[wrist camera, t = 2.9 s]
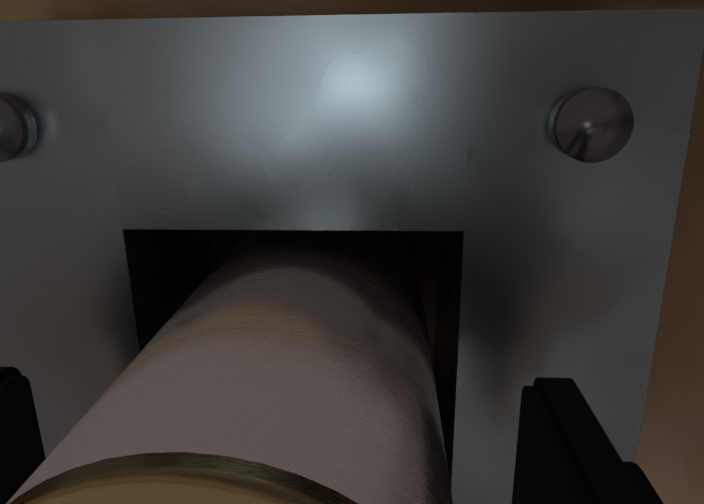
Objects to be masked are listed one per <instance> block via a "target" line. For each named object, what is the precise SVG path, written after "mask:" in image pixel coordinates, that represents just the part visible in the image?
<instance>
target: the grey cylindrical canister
mask: <svg viewBox="0 0 704 504" xmlns="http://www.w3.org/2000/svg"><path fill="white" fill-rule="evenodd" d="M6 504H453V501H452V494H451V487H450V481H449V474H448V467H447V460H446V453H445V446H444V439H443V432H442V426H441V419H440V412H439V405H438V398H437V391H436V384H435V378H434V371H433V364H432V357H431V350H430V343H429V336H428V329H427V323H426V316H425V309H424V302H423V295H422V288H421V281H420V276H419V271H418V267H417V264H416V261H415V258H414V256H413V254H412V252H411V250H410V248H409V246H408V245H407V243H406V242H405V240H404V239H403V237H402V236H401V235H400V234H399V233H398V231H341V230H248V231H247V232H246V233H245V234H244V235H243V237H242V238H241V239H240V240H239V241H238V242H237V243H236V244H235V246H234V247H233V248H232V249H231V250H230V251H229V252H228V253H227V255H226V256H225V257H224V258H223V259H222V260H221V261H220V263H219V264H218V265H217V266H216V267H215V268H214V269H213V270H212V272H211V273H210V274H209V275H208V276H207V277H206V278H205V279H204V281H203V282H202V283H201V284H200V285H199V286H198V287H197V288H196V290H195V291H194V292H193V293H192V294H191V295H190V296H189V298H188V299H187V300H186V301H185V302H184V303H183V304H182V305H181V307H180V308H179V309H178V310H177V311H176V312H175V313H174V314H173V316H172V317H171V318H170V319H169V320H168V321H167V322H166V324H165V325H164V326H163V327H162V328H161V329H160V330H159V331H158V333H157V334H156V335H155V336H154V337H153V338H152V339H151V340H150V342H149V343H148V344H147V345H146V346H145V347H144V348H143V349H142V351H141V352H140V353H139V354H138V355H137V356H136V357H135V359H134V360H133V361H132V362H131V363H130V364H129V365H128V366H127V368H126V369H125V370H124V371H123V372H122V373H121V374H120V375H119V377H118V378H117V379H116V380H115V381H114V382H113V383H112V384H111V386H110V387H109V388H108V389H107V390H106V391H105V392H104V394H103V395H102V396H101V397H100V398H99V399H98V400H97V401H96V403H95V404H94V405H93V406H92V407H91V408H90V409H89V410H88V412H87V413H86V414H85V415H84V416H83V417H82V418H81V420H80V421H79V422H78V423H77V424H76V425H75V426H74V427H73V429H72V430H71V431H70V432H69V433H68V434H67V435H66V436H65V438H64V439H63V440H62V441H61V442H60V443H59V444H58V445H57V447H56V448H55V449H54V450H53V451H52V452H51V453H50V455H49V456H48V457H47V458H46V459H45V460H44V461H43V462H42V464H41V465H40V466H39V467H38V468H37V469H36V470H35V471H34V473H33V474H32V475H31V476H30V477H29V478H28V479H27V480H26V482H25V483H24V484H23V485H22V486H21V487H20V488H19V490H18V491H17V492H16V493H15V494H14V495H13V496H12V497H11V499H10V500H9V501H8V502H7V503H6Z"/></svg>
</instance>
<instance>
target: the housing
mask: <svg viewBox="0 0 704 504" xmlns="http://www.w3.org/2000/svg"><path fill="white" fill-rule="evenodd" d="M703 51H704V8H686V9H632V10H578V11H523V12H469V13H414V14H360V15H306V16H251V17H197V18H142V19H88V20H34V21H0V367H15V368H17V369H18V370H19V371H20V372H21V374H22V375H24V376H26V377H27V378H28V379H29V382H30V385H31V390H32V394H33V399H34V404H35V409H36V414H37V419H38V424H39V428H40V433H41V438H42V443H43V448H44V453H45V458H47V457H48V456H49V455H50V453H51V452H52V451H53V450H54V449H55V448H56V447H57V445H58V444H59V443H60V442H61V441H62V440H63V439H64V438H65V436H66V435H67V434H68V433H69V432H70V431H71V430H72V429H73V427H74V426H75V425H76V424H77V423H78V422H79V421H80V420H81V418H82V417H83V416H84V415H85V414H86V413H87V412H88V410H89V409H90V408H91V407H92V406H93V405H94V404H95V403H96V401H97V400H98V399H99V398H100V397H101V396H102V395H103V394H104V392H105V391H106V390H107V389H108V388H109V387H110V386H111V384H112V383H113V382H114V381H115V380H116V379H117V378H118V377H119V375H120V374H121V373H122V372H123V371H124V370H125V369H126V368H127V366H128V365H129V364H130V363H131V362H132V361H133V360H134V359H135V357H136V356H137V355H138V354H139V353H140V352H141V351H142V349H143V348H144V347H145V346H146V345H147V344H148V343H149V342H150V340H151V339H152V338H153V337H154V336H155V335H156V334H157V333H158V331H159V330H160V329H161V328H162V327H163V326H164V325H165V324H166V322H167V321H168V320H169V319H170V318H171V317H172V316H173V314H174V313H175V312H176V311H177V310H178V309H179V308H180V307H181V305H182V304H183V303H184V302H185V301H186V300H187V299H188V298H189V296H190V295H191V294H192V293H193V292H194V291H195V290H196V288H197V287H198V286H199V285H200V284H201V283H202V282H203V281H204V279H205V278H206V277H207V276H208V275H209V274H210V273H211V272H212V270H211V259H210V248H209V237H208V230H341V231H439V250H438V278H437V305H436V333H435V361H434V378H435V384H436V391H437V398H438V405H439V412H440V419H441V426H442V432H443V439H444V446H445V453H446V460H447V467H448V474H449V481H450V487H451V494H452V501H453V504H512V494H513V482H514V471H515V460H516V449H517V437H518V426H519V415H520V404H521V394H522V389H523V387H524V386H533V383H534V380H535V379H536V377H548V378H572V379H573V380H574V381H575V383H576V385H577V386H578V388H579V390H580V391H581V393H582V395H583V396H584V398H585V400H586V401H587V403H588V405H589V406H590V408H591V410H592V411H593V413H594V415H595V416H596V418H597V420H598V421H599V423H600V425H601V426H602V428H603V430H604V431H605V433H606V435H607V436H608V438H609V440H610V441H611V443H612V445H613V446H614V448H615V450H616V451H617V453H618V455H619V456H620V458H621V459H622V461H628V462H633V463H635V462H636V456H637V450H638V444H639V438H640V432H641V426H642V420H643V414H644V408H645V402H646V395H647V389H648V383H649V377H650V371H651V365H652V359H653V353H654V347H655V341H656V335H657V329H658V323H659V317H660V311H661V305H662V299H663V293H664V287H665V280H666V274H667V268H668V262H669V256H670V250H671V244H672V238H673V232H674V226H675V220H676V214H677V208H678V202H679V196H680V190H681V184H682V178H683V172H684V166H685V159H686V153H687V147H688V141H689V135H690V129H691V123H692V117H693V111H694V105H695V99H696V93H697V87H698V81H699V75H700V69H701V63H702V57H703Z"/></svg>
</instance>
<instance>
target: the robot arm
mask: <svg viewBox="0 0 704 504" xmlns="http://www.w3.org/2000/svg"><path fill="white" fill-rule="evenodd" d="M45 459H46V458H45V453H44V448H43V443H42V438H41V433H40V428H39V424H38V419H37V414H36V409H35V404H34V399H33V394H32V390H31V385H30V382H29V379H28V378H27V377H26V376H24V375H22V374H21V372H20V371H19V370H18V369H17V368H15V367H0V504H6V503H7V502H8V501H9V500H10V499H11V497H12V496H13V495H14V494H15V493H16V492H17V491H18V490H19V488H20V487H21V486H22V485H23V484H24V483H25V482H26V480H27V479H28V478H29V477H30V476H31V475H32V474H33V473H34V471H35V470H36V469H37V468H38V467H39V466H40V465H41V464H42V462H43V461H44V460H45ZM512 504H663V502H662V501H661V499H660V498H659V496H658V494H657V493H656V491H655V490H654V488H653V487H652V485H651V483H650V482H649V480H648V479H647V477H646V476H645V474H644V472H643V471H642V470H641V469H640V467H639V466H638V465H637V464H635V463H633V462H628V461H622V459H621V458H620V456H619V455H618V453H617V451H616V450H615V448H614V446H613V445H612V443H611V441H610V440H609V438H608V436H607V435H606V433H605V431H604V430H603V428H602V426H601V425H600V423H599V421H598V420H597V418H596V416H595V415H594V413H593V411H592V410H591V408H590V406H589V405H588V403H587V401H586V400H585V398H584V396H583V395H582V393H581V391H580V390H579V388H578V386H577V385H576V383H575V381H574V380H573V379H572V378H548V377H536V379H535V380H534V383H533V386H524V387H523V389H522V394H521V404H520V415H519V426H518V437H517V449H516V460H515V471H514V482H513V494H512Z"/></svg>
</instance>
